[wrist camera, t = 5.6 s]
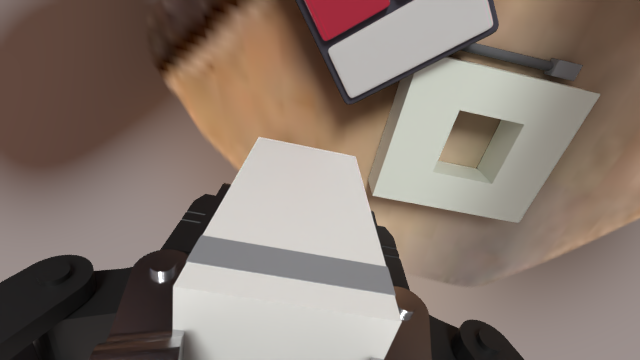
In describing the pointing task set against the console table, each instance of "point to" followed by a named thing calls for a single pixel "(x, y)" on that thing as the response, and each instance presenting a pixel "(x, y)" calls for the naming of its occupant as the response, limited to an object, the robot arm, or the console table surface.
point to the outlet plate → (502, 152)
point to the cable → (529, 61)
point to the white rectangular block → (288, 265)
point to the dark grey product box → (391, 37)
